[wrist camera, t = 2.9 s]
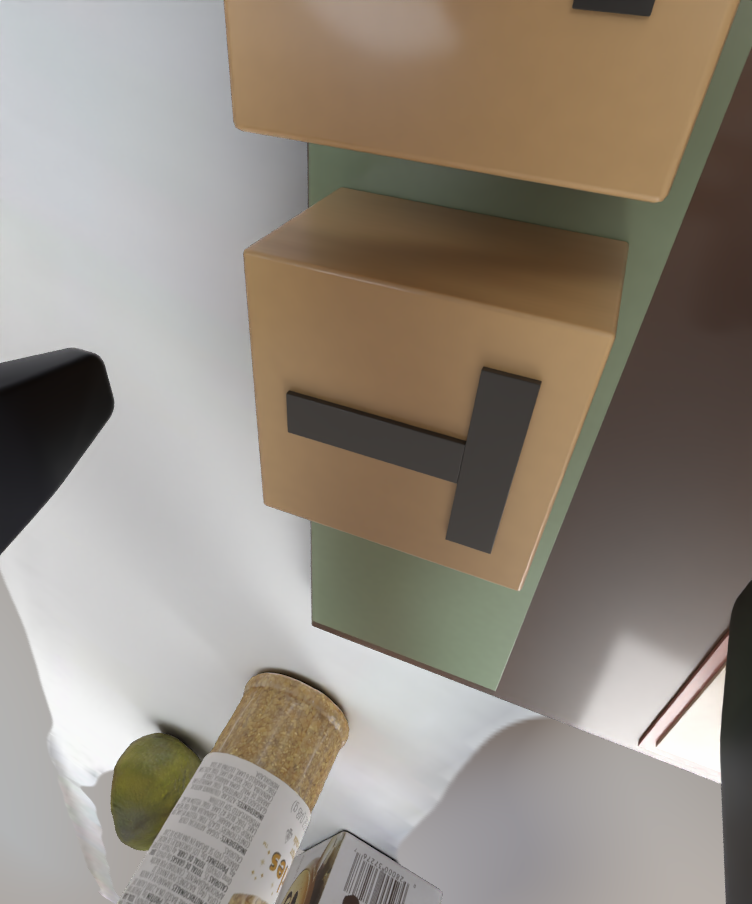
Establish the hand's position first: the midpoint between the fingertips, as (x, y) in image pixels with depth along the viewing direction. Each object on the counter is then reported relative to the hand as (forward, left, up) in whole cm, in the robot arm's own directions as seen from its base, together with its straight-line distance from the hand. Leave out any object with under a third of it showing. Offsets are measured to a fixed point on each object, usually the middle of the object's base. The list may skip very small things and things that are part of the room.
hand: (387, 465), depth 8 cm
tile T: (0, 0, -4) cm, 4 cm away
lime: (+11, +28, -5) cm, 30 cm away
